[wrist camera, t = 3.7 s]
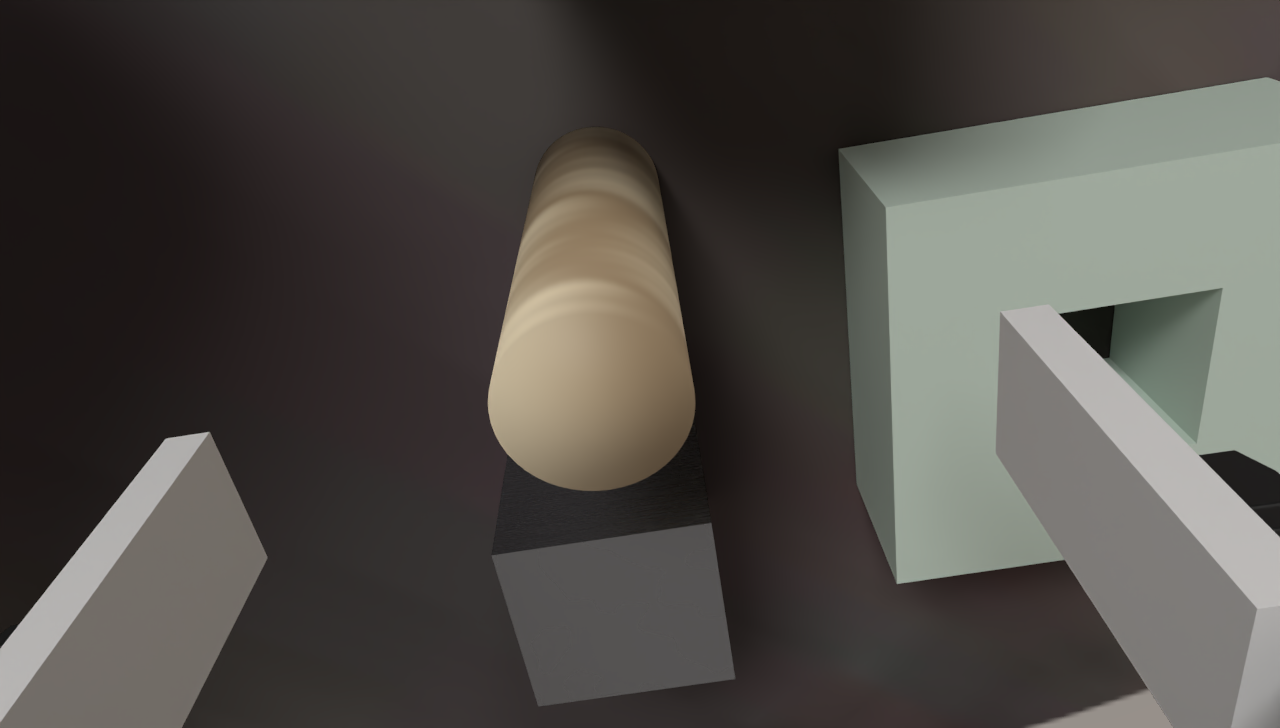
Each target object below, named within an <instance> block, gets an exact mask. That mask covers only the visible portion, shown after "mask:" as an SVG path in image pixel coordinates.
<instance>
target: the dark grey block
mask: <svg viewBox="0 0 1280 728" xmlns="http://www.w3.org/2000/svg"><path fill="white" fill-rule="evenodd" d="M492 559H493V562H494V565H495V568H496V572H497V575H498V578H499V581H500V584H501V588H502V591H503V594H504V597H505V601H506V604H507V607H508V610H509V613H510V617H511V620H512V623H513V626H514V630H515V633H516V636H517V639H518V642H519V646H520V649H521V652H522V655H523V659H524V662H525V665H526V668H527V671H528V675H529V678H530V681H531V684H532V688H533V691H534V694H535V697H536V700H537V704H538V706H546V705H553V704H560V703H567V702H574V701H581V700H588V699H596V698H603V697H610V696H617V695H624V694H631V693H639V692H646V691H653V690H660V689H667V688H674V687H681V686H689V685H696V684H703V683H710V682H717V681H724V680H732V679H735V673H734V667H733V660H732V654H731V647H730V641H729V634H728V628H727V621H726V615H725V608H724V602H723V595H722V589H721V582H720V576H719V569H718V563H717V556H716V550H715V543H714V537H713V530H712V524H711V518H710V511H709V505H708V499H707V493H706V487H705V481H704V475H703V468H702V462H701V456H700V450H699V444H698V438H697V432H696V425H695V419H693V424H692V427H691V430H690V432H689V435H688V437H687V439H686V440H685V442H684V444H683V446H682V447H681V448H680V450H679V451H678V452H677V454H676V455H675V456H674V457H673V458H672V459H671V460H670V461H669V462H668V463H667V464H666V465H665V466H664V467H662V468H661V469H660V470H658V471H657V472H656V473H654V474H652V475H651V476H649V477H647V478H645V479H643V480H641V481H639V482H636V483H634V484H631V485H628V486H625V487H621V488H616V489H611V490H602V491H582V490H573V489H568V488H563V487H559V486H556V485H553V484H550V483H547V482H545V481H543V480H541V479H539V478H537V477H535V476H533V475H532V474H530V473H529V472H527V471H525V470H524V469H523V468H522V467H520V466H519V465H518V464H517V463H516V462H515V461H514V460H513V459H512V458H511V457H510V456H509V455H508V456H507V463H506V469H505V475H504V481H503V487H502V494H501V500H500V506H499V512H498V518H497V525H496V531H495V537H494V543H493V549H492Z"/></svg>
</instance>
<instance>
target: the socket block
mask: <svg viewBox="0 0 1280 728" xmlns="http://www.w3.org/2000/svg"><path fill="white" fill-rule="evenodd" d="M838 152H839V170H840V189H841V207H842V225H843V244H844V262H845V280H846V298H847V317H848V335H849V353H850V372H851V390H852V408H853V427H854V445H855V463H856V482H857V486H858V489H859V491H860V494H861V496H862V499H863V501H864V504H865V506H866V509H867V511H868V514H869V516H870V519H871V521H872V523H873V526H874V528H875V531H876V533H877V536H878V538H879V541H880V543H881V546H882V548H883V551H884V553H885V556H886V558H887V561H888V563H889V565H890V568H891V570H892V573H893V575H894V578H895V580H896V583H897V584H900V583H907V582H914V581H921V580H928V579H935V578H942V577H948V576H955V575H962V574H969V573H976V572H983V571H990V570H997V569H1004V568H1011V567H1018V566H1025V565H1032V564H1039V563H1046V562H1053V561H1060V560H1064V558H1063V556H1062V555H1061V553H1060V552H1059V550H1058V549H1057V547H1056V546H1055V544H1054V543H1053V541H1052V539H1051V538H1050V536H1049V535H1048V533H1047V532H1046V530H1045V529H1044V527H1043V526H1042V524H1041V523H1040V521H1039V519H1038V518H1037V516H1036V515H1035V513H1034V512H1033V510H1032V509H1031V507H1030V506H1029V504H1028V502H1027V501H1026V499H1025V498H1024V496H1023V495H1022V493H1021V492H1020V490H1019V489H1018V487H1017V485H1016V484H1015V482H1014V481H1013V479H1012V478H1011V476H1010V475H1009V473H1008V472H1007V470H1006V468H1005V467H1004V465H1003V464H1002V462H1001V461H1000V459H999V458H998V456H997V455H996V425H997V394H998V363H999V333H1000V312H1001V311H1008V310H1014V309H1021V308H1027V307H1034V306H1040V305H1047V304H1049V305H1050V306H1051V307H1052V308H1053V309H1054V310H1055V311H1056V312H1057V313H1058V314H1060V313H1066V312H1072V311H1079V310H1085V309H1091V308H1098V307H1104V306H1111V305H1115V309H1114V318H1113V328H1112V337H1111V347H1110V356H1109V358H1104V360H1105V361H1106V362H1107V363H1108V364H1109V365H1110V366H1111V367H1112V368H1113V370H1114V371H1115V372H1116V373H1117V374H1118V375H1119V376H1120V377H1121V378H1122V379H1123V380H1124V381H1125V382H1126V383H1127V384H1128V385H1129V386H1130V387H1131V388H1132V389H1133V390H1134V391H1135V392H1136V393H1137V394H1138V395H1139V396H1140V397H1141V398H1142V399H1143V400H1144V401H1145V402H1146V403H1147V404H1148V405H1149V406H1150V407H1151V408H1152V409H1153V410H1154V411H1155V412H1156V413H1157V414H1158V415H1159V416H1160V417H1161V418H1162V419H1163V420H1164V421H1165V422H1166V423H1167V424H1168V425H1169V426H1170V427H1171V428H1172V429H1173V430H1174V431H1175V432H1176V433H1177V434H1178V435H1179V436H1180V437H1181V438H1182V439H1183V440H1184V441H1185V442H1186V443H1187V444H1188V445H1189V446H1190V447H1191V448H1192V449H1193V450H1194V451H1195V452H1196V453H1197V454H1198V455H1203V454H1211V453H1218V452H1225V451H1232V450H1236V451H1238V452H1240V453H1242V454H1244V455H1246V456H1248V457H1250V458H1252V459H1254V460H1256V461H1258V462H1260V463H1262V464H1264V465H1266V466H1268V467H1270V468H1272V469H1274V470H1276V471H1277V472H1278V473H1279V474H1280V81H1277V80H1274V79H1270V78H1267V77H1266V78H1260V79H1254V80H1248V81H1242V82H1236V83H1230V84H1224V85H1218V86H1212V87H1206V88H1200V89H1194V90H1188V91H1182V92H1176V93H1170V94H1164V95H1158V96H1152V97H1146V98H1140V99H1134V100H1128V101H1122V102H1116V103H1111V104H1105V105H1099V106H1093V107H1087V108H1081V109H1075V110H1069V111H1063V112H1057V113H1051V114H1045V115H1039V116H1033V117H1027V118H1021V119H1015V120H1009V121H1003V122H997V123H991V124H985V125H979V126H973V127H967V128H961V129H955V130H949V131H943V132H937V133H931V134H925V135H919V136H913V137H907V138H901V139H895V140H889V141H883V142H877V143H871V144H865V145H859V146H853V147H847V148H841V149H838Z"/></svg>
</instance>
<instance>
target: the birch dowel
mask: <svg viewBox="0 0 1280 728" xmlns="http://www.w3.org/2000/svg"><path fill="white" fill-rule="evenodd" d="M488 412H489V417H490V422H491V425H492V428H493V431H494V433H495V435H496V437H497V439H498V441H499V443H500V445H501V446H502V447H503V449H504V450H505V451H506V453H507V454H508V455H509V456H510V457H511V458H512V459H513V460H514V461H515V462H516V463H517V464H518V465H519V466H520V467H522V468H523V469H524V470H525V471H527V472H529V473H530V474H532V475H533V476H535V477H537V478H539V479H541V480H543V481H545V482H547V483H550V484H553V485H556V486H559V487H563V488H568V489H573V490H582V491H602V490H611V489H616V488H621V487H625V486H628V485H631V484H634V483H636V482H639V481H641V480H643V479H645V478H647V477H649V476H651V475H652V474H654V473H656V472H657V471H658V470H660V469H661V468H662V467H664V466H665V465H666V464H667V463H668V462H669V461H670V460H671V459H672V458H673V457H674V456H675V455H676V454H677V452H678V451H679V450H680V448H681V447H682V446H683V444H684V442H685V440H686V439H687V437H688V435H689V432H690V430H691V427H692V424H693V419H694V415H695V391H694V385H693V379H692V373H691V367H690V362H689V356H688V350H687V344H686V338H685V332H684V327H683V321H682V315H681V309H680V303H679V297H678V291H677V286H676V280H675V274H674V268H673V262H672V256H671V251H670V245H669V239H668V233H667V227H666V221H665V215H664V210H663V204H662V198H661V192H660V186H659V180H658V176H657V171H656V168H655V166H654V163H653V161H652V159H651V158H650V156H649V154H648V153H647V152H646V150H645V149H644V148H643V147H642V146H641V145H640V144H639V143H638V142H637V141H635V140H634V139H633V138H631V137H630V136H628V135H626V134H624V133H622V132H620V131H617V130H614V129H611V128H605V127H586V128H581V129H577V130H575V131H572V132H569V133H567V134H566V135H564V136H562V137H561V138H559V139H558V140H556V141H555V142H554V143H553V144H552V145H551V146H550V147H549V148H548V149H547V151H546V152H545V153H544V155H543V157H542V158H541V160H540V162H539V165H538V167H537V170H536V174H535V179H534V183H533V188H532V193H531V197H530V202H529V206H528V211H527V216H526V220H525V225H524V230H523V234H522V239H521V243H520V248H519V253H518V257H517V262H516V266H515V271H514V276H513V280H512V285H511V290H510V294H509V299H508V303H507V308H506V313H505V317H504V322H503V327H502V331H501V336H500V340H499V345H498V350H497V354H496V359H495V364H494V368H493V373H492V377H491V382H490V387H489V394H488Z"/></svg>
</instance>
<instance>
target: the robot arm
mask: <svg viewBox="0 0 1280 728" xmlns="http://www.w3.org/2000/svg"><path fill="white" fill-rule="evenodd" d="M996 455H997V456H998V458H999V459H1000V461H1001V462H1002V464H1003V465H1004V467H1005V468H1006V470H1007V472H1008V473H1009V475H1010V476H1011V478H1012V479H1013V481H1014V482H1015V484H1016V485H1017V487H1018V489H1019V490H1020V492H1021V493H1022V495H1023V496H1024V498H1025V499H1026V501H1027V502H1028V504H1029V506H1030V507H1031V509H1032V510H1033V512H1034V513H1035V515H1036V516H1037V518H1038V519H1039V521H1040V523H1041V524H1042V526H1043V527H1044V529H1045V530H1046V532H1047V533H1048V535H1049V536H1050V538H1051V539H1052V541H1053V543H1054V544H1055V546H1056V547H1057V549H1058V550H1059V552H1060V553H1061V555H1062V556H1063V558H1064V560H1065V561H1066V563H1067V564H1068V566H1069V567H1070V569H1071V570H1072V572H1073V573H1074V575H1075V577H1076V578H1077V580H1078V581H1079V583H1080V584H1081V586H1082V587H1083V589H1084V590H1085V592H1086V593H1087V595H1088V597H1089V598H1090V600H1091V601H1092V603H1093V604H1094V606H1095V607H1096V609H1097V610H1098V612H1099V614H1100V615H1101V617H1102V618H1103V620H1104V621H1105V623H1106V624H1107V626H1108V627H1109V629H1110V631H1111V632H1112V634H1113V635H1114V637H1115V638H1116V640H1117V641H1118V643H1119V644H1120V646H1121V648H1122V649H1123V651H1124V652H1125V654H1126V655H1127V657H1128V658H1129V660H1130V661H1131V663H1132V664H1133V666H1134V668H1135V669H1136V671H1137V672H1138V674H1139V675H1140V677H1141V678H1142V680H1143V681H1144V683H1145V685H1146V686H1147V688H1148V689H1149V691H1150V692H1151V694H1152V695H1153V697H1154V698H1155V700H1156V701H1157V703H1158V705H1159V706H1160V707H1161V709H1162V711H1163V712H1164V714H1165V715H1166V717H1167V718H1168V720H1169V722H1170V723H1171V725H1172V726H1173V728H1280V474H1279V473H1278V472H1277V471H1276V470H1274V469H1272V468H1270V467H1268V466H1266V465H1264V464H1262V463H1260V462H1258V461H1256V460H1254V459H1252V458H1250V457H1248V456H1246V455H1244V454H1242V453H1240V452H1238V451H1236V450H1232V451H1225V452H1218V453H1211V454H1203V455H1198V454H1197V453H1196V452H1195V451H1194V450H1193V449H1192V448H1191V447H1190V446H1189V445H1188V444H1187V443H1186V442H1185V441H1184V440H1183V439H1182V438H1181V437H1180V436H1179V435H1178V434H1177V433H1176V432H1175V431H1174V430H1173V429H1172V428H1171V427H1170V426H1169V425H1168V424H1167V423H1166V422H1165V421H1164V420H1163V419H1162V418H1161V417H1160V416H1159V415H1158V414H1157V413H1156V412H1155V411H1154V410H1153V409H1152V408H1151V407H1150V406H1149V405H1148V404H1147V403H1146V402H1145V401H1144V400H1143V399H1142V398H1141V397H1140V396H1139V395H1138V394H1137V393H1136V392H1135V391H1134V390H1133V389H1132V388H1131V387H1130V386H1129V385H1128V384H1127V383H1126V382H1125V381H1124V380H1123V379H1122V378H1121V377H1120V376H1119V375H1118V374H1117V373H1116V372H1115V371H1114V370H1113V368H1112V367H1111V366H1110V365H1109V364H1108V363H1107V362H1106V361H1105V360H1104V359H1103V358H1102V357H1101V356H1100V355H1099V354H1098V353H1097V352H1096V351H1095V350H1094V349H1093V348H1092V347H1091V346H1090V345H1089V344H1088V343H1087V342H1086V341H1085V340H1084V339H1083V338H1082V337H1081V336H1080V335H1079V334H1078V333H1077V332H1076V331H1075V330H1074V329H1073V328H1072V327H1071V326H1070V325H1069V324H1068V323H1067V322H1066V321H1065V320H1064V319H1063V318H1062V317H1061V316H1060V315H1059V314H1058V313H1057V312H1056V311H1055V310H1054V309H1053V308H1052V307H1051V306H1050V305H1049V304H1047V305H1040V306H1034V307H1027V308H1021V309H1014V310H1008V311H1001V312H1000V333H999V363H998V394H997V425H996ZM267 558H268V557H267V555H266V553H265V551H264V548H263V546H262V544H261V542H260V540H259V538H258V535H257V533H256V531H255V529H254V527H253V525H252V522H251V520H250V518H249V516H248V514H247V512H246V509H245V507H244V505H243V503H242V501H241V499H240V496H239V494H238V492H237V490H236V488H235V486H234V483H233V481H232V479H231V477H230V475H229V473H228V470H227V468H226V466H225V464H224V462H223V460H222V457H221V455H220V453H219V451H218V449H217V447H216V445H215V442H214V440H213V438H212V436H211V434H210V432H206V433H199V434H193V435H186V436H179V437H173V438H166V439H165V440H164V442H163V443H162V444H161V445H160V447H159V448H158V449H157V450H156V452H155V453H154V454H153V456H152V457H151V458H150V459H149V461H148V462H147V463H146V464H145V466H144V467H143V468H142V469H141V471H140V472H139V473H138V475H137V476H136V477H135V478H134V480H133V481H132V482H131V483H130V485H129V486H128V487H127V488H126V490H125V491H124V492H123V494H122V495H121V496H120V497H119V499H118V500H117V501H116V502H115V504H114V505H113V506H112V507H111V509H110V510H109V511H108V513H107V514H106V515H105V516H104V518H103V519H102V520H101V521H100V523H99V524H98V525H97V526H96V528H95V529H94V530H93V532H92V533H91V534H90V535H89V537H88V538H87V539H86V540H85V542H84V543H83V544H82V546H81V547H80V548H79V549H78V551H77V552H76V553H75V554H74V556H73V557H72V558H71V559H70V561H69V562H68V563H67V565H66V566H65V567H64V568H63V570H62V571H61V572H60V573H59V575H58V576H57V577H56V578H55V580H54V581H53V582H52V584H51V585H50V586H49V587H48V589H47V590H46V591H45V592H44V594H43V595H42V596H41V597H40V599H39V600H38V601H37V603H36V604H35V605H34V606H33V608H32V609H31V610H30V611H29V613H28V614H27V615H26V616H25V618H24V619H23V620H22V622H21V623H20V624H19V625H13V626H10V627H9V628H8V629H6V630H5V631H4V632H3V633H2V634H0V728H182V726H183V724H184V722H185V720H186V718H187V717H188V715H189V713H190V711H191V709H192V707H193V705H194V703H195V701H196V699H197V697H198V695H199V693H200V691H201V689H202V687H203V685H204V683H205V681H206V679H207V677H208V675H209V673H210V671H211V669H212V667H213V665H214V663H215V661H216V659H217V657H218V655H219V653H220V651H221V649H222V647H223V645H224V643H225V641H226V639H227V637H228V635H229V633H230V631H231V629H232V627H233V625H234V623H235V622H236V620H237V618H238V616H239V614H240V612H241V610H242V608H243V606H244V604H245V602H246V600H247V598H248V596H249V594H250V592H251V590H252V588H253V586H254V584H255V582H256V580H257V578H258V576H259V574H260V572H261V570H262V568H263V566H264V564H265V562H266V560H267Z"/></svg>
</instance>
